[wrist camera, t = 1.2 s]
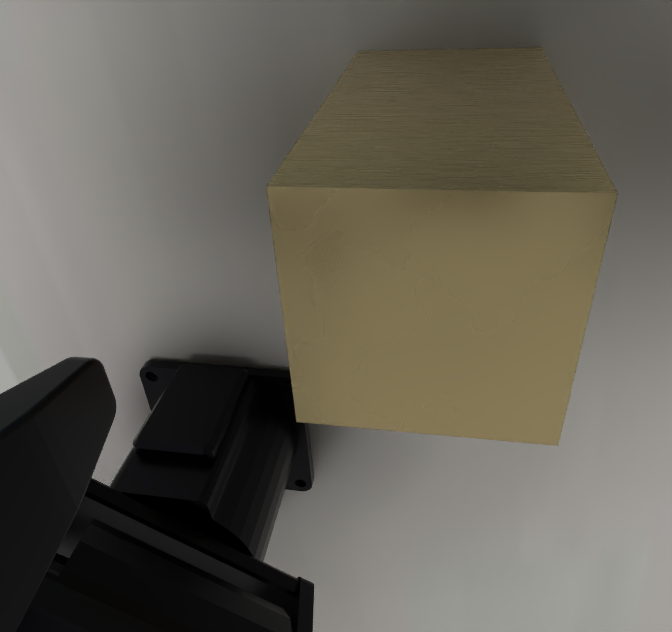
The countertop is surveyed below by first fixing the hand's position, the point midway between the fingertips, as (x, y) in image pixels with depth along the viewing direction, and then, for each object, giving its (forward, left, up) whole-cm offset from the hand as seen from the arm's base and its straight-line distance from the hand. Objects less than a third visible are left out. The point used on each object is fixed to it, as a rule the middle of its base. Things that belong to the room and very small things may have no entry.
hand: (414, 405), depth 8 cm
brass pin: (0, 0, -11) cm, 11 cm away
